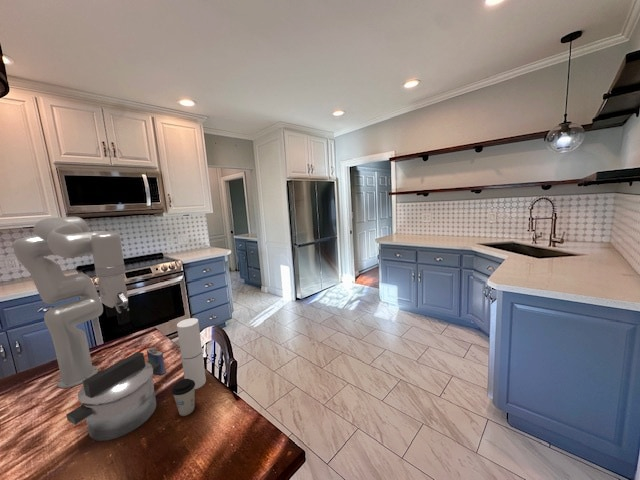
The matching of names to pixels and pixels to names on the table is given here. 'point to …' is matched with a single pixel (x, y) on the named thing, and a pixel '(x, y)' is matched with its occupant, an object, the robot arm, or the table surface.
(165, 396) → the table surface
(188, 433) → the table surface
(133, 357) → the lid
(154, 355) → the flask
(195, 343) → the cylindrical container
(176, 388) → the coffee cup
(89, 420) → the cooker pot
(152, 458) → the table surface
